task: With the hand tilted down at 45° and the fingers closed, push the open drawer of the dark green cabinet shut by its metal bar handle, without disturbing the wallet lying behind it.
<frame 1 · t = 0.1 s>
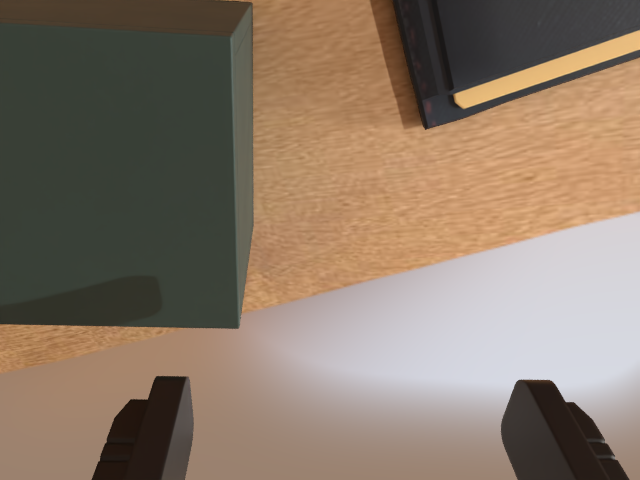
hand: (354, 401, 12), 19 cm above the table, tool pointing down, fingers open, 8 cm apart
cabinet: (118, 120, 28), on the table
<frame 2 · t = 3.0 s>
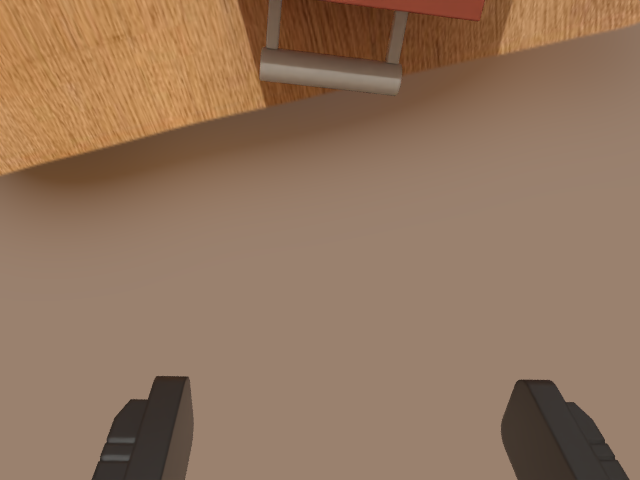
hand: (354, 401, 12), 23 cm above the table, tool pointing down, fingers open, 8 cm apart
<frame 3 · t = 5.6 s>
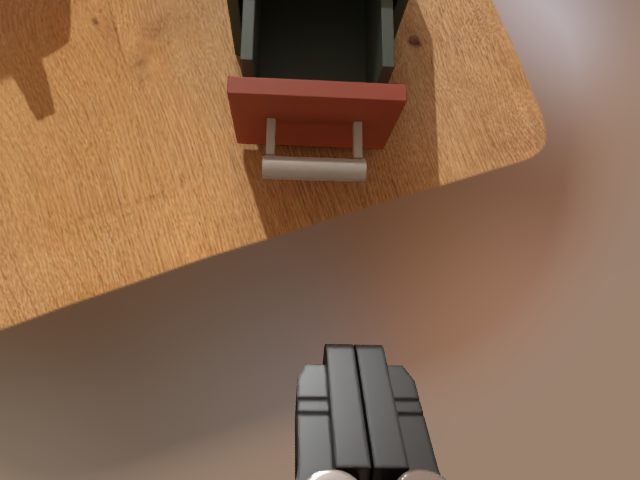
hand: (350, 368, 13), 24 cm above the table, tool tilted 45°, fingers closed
drawer: (314, 65, 37), point 5 cm above the table, slide at 7.0 cm
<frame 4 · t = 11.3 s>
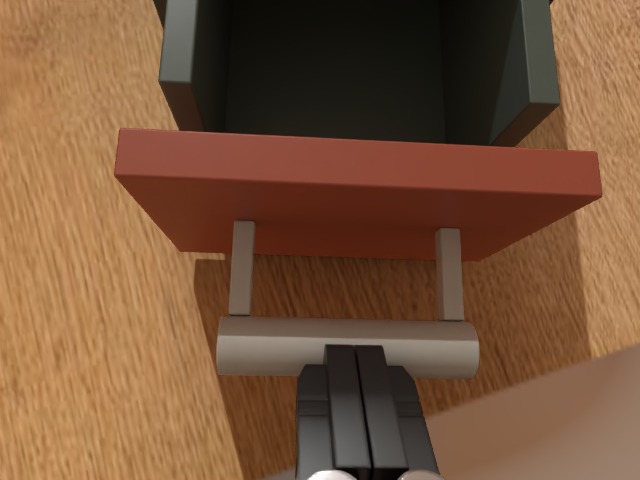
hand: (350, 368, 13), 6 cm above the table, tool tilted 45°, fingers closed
drawer: (346, 94, 17), point 5 cm above the table, slide at 6.0 cm, touching gripper
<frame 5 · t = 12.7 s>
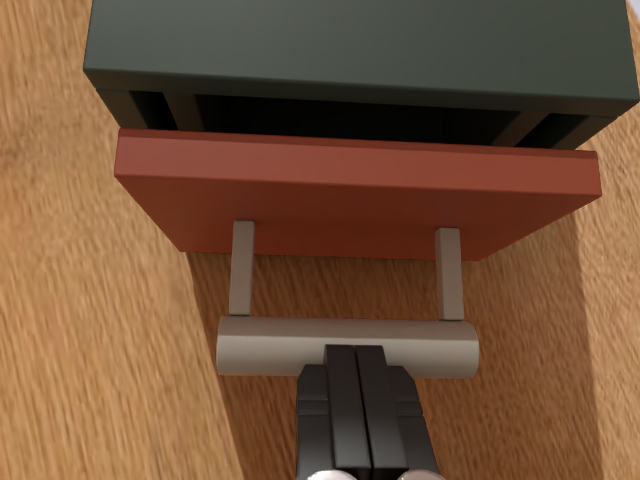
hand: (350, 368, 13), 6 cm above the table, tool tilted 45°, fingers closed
cabinet: (332, 53, 22), on the table
drawer: (345, 94, 17), point 5 cm above the table, slide at 0.8 cm, touching gripper
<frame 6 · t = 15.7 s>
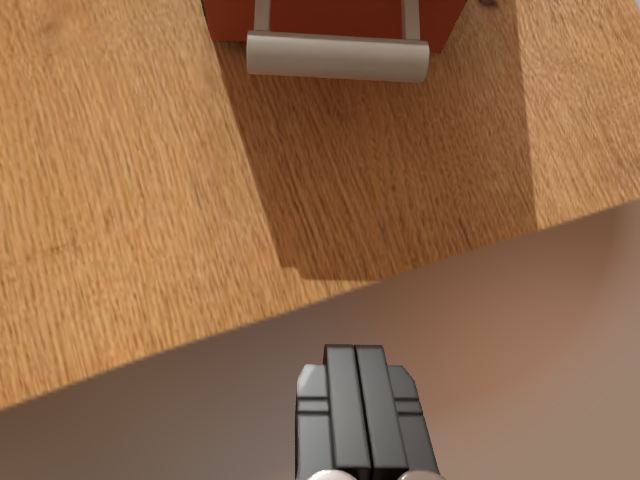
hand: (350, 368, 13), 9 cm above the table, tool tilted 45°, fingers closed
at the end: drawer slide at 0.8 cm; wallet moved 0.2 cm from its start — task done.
